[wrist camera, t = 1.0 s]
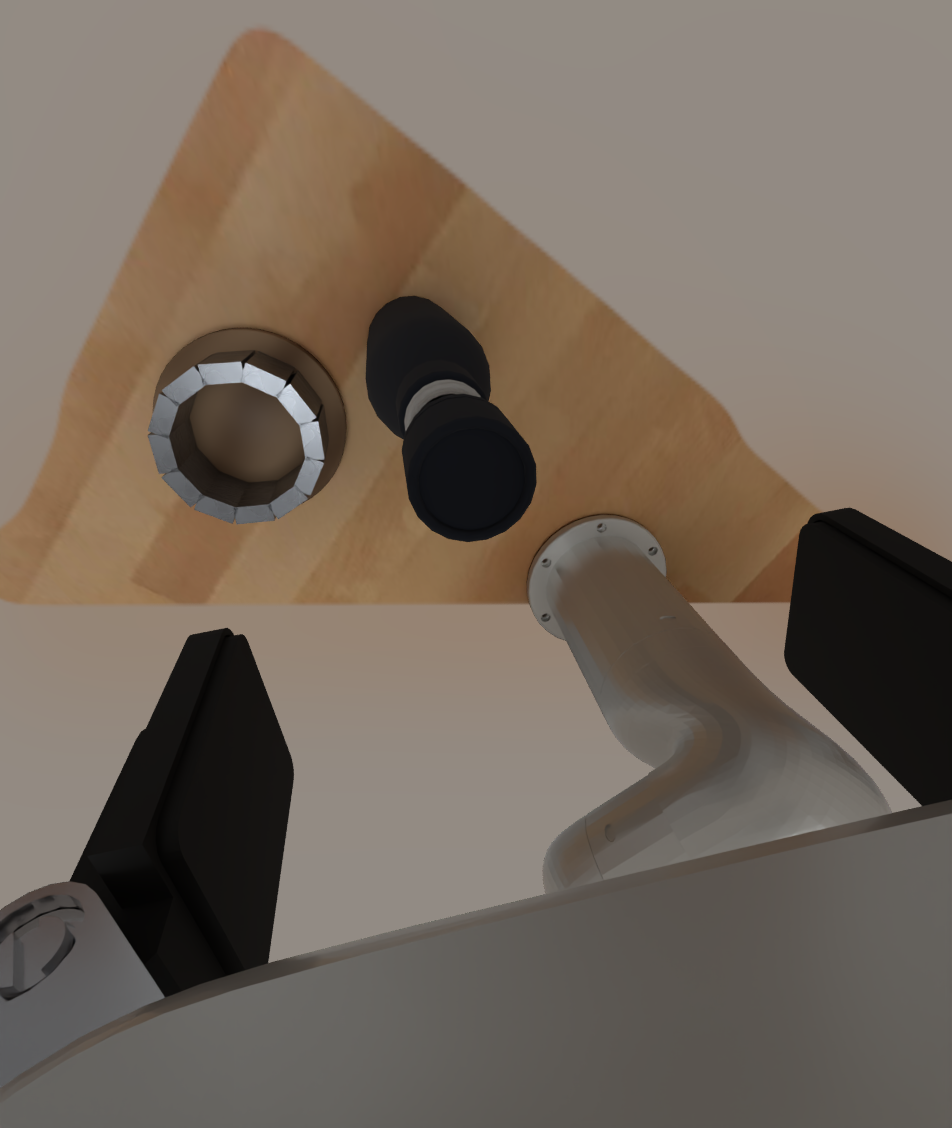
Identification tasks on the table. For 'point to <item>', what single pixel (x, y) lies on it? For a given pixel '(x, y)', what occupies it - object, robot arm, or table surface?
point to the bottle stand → (246, 425)
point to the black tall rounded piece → (447, 422)
